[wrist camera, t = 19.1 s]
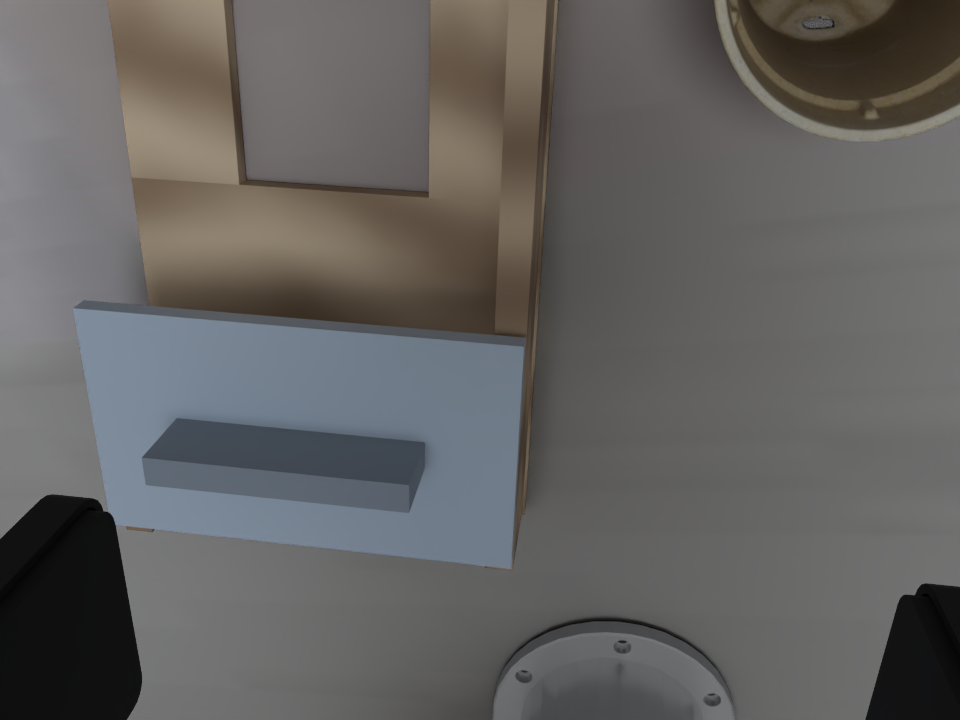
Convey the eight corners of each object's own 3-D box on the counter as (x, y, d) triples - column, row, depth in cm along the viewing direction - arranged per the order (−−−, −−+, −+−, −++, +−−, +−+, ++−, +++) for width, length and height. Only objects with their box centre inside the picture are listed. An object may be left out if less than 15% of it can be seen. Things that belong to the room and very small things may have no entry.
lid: (512, 556, 38) (502, 619, 34) (119, 513, 40) (73, 568, 36) (525, 337, 33) (516, 384, 30) (84, 300, 35) (27, 340, 32)
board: (525, 505, 44) (514, 580, 39) (179, 469, 46) (125, 536, 41) (563, -74, 33) (554, -73, 28) (106, -90, 35) (20, -93, 30)
